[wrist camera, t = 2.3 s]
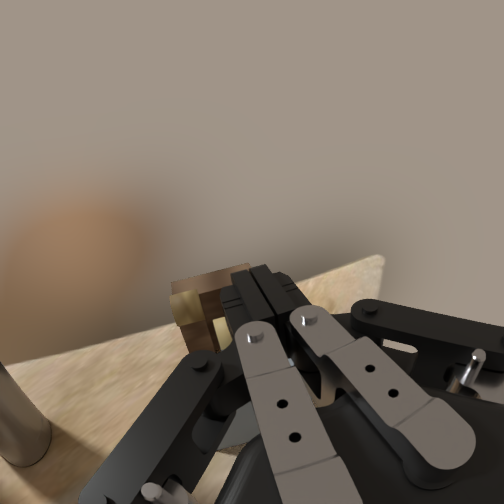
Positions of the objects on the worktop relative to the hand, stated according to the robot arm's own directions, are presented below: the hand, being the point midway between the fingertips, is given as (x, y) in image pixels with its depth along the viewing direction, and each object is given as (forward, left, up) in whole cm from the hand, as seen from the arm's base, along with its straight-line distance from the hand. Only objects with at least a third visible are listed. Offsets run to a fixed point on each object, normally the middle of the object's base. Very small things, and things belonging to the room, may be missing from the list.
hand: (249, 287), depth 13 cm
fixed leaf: (0, +18, -20) cm, 27 cm away
